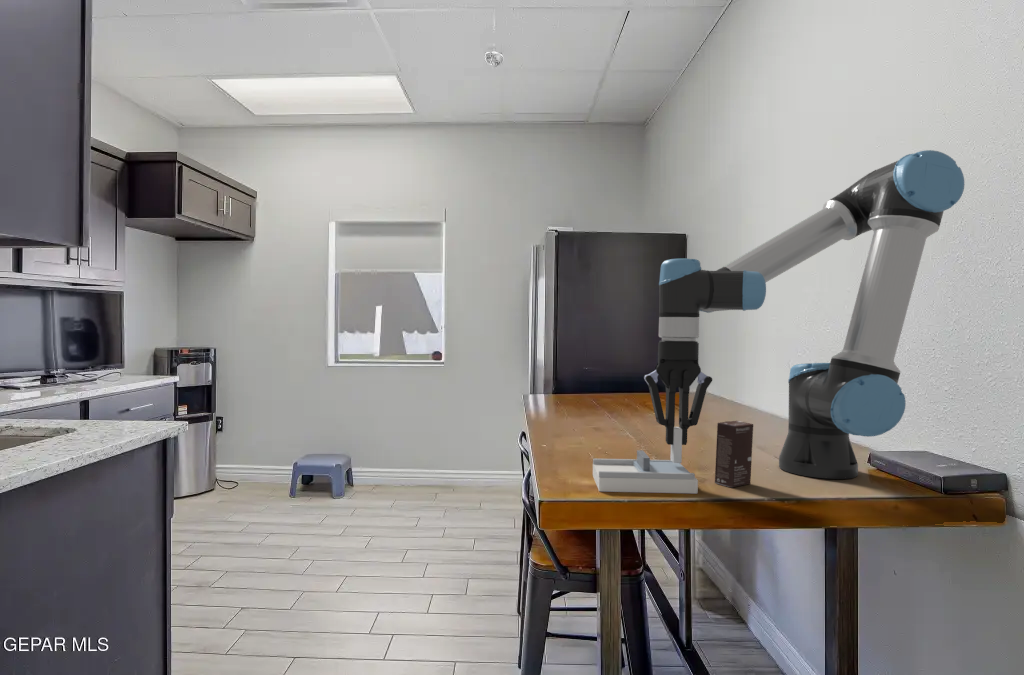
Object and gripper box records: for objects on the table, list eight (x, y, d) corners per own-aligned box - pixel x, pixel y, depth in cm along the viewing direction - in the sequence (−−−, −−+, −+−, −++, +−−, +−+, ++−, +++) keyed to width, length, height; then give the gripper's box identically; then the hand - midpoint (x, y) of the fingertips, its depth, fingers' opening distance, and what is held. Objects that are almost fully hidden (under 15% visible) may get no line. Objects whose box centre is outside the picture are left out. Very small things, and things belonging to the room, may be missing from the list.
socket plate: (681, 477, 120) (681, 459, 120) (697, 493, 108) (697, 474, 108) (592, 475, 121) (592, 458, 121) (599, 491, 109) (599, 472, 109)
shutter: (678, 465, 119) (678, 450, 119) (690, 476, 110) (690, 460, 110) (633, 464, 119) (633, 449, 119) (641, 475, 110) (641, 459, 110)
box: (733, 488, 112) (735, 425, 112) (714, 483, 116) (715, 422, 115) (753, 484, 115) (754, 423, 115) (733, 479, 119) (734, 419, 119)
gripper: (706, 339, 117) (704, 458, 118) (640, 338, 118) (638, 456, 118) (718, 340, 110) (715, 466, 110) (648, 339, 110) (645, 465, 111)
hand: (675, 461), depth 114 cm, fingers closed
